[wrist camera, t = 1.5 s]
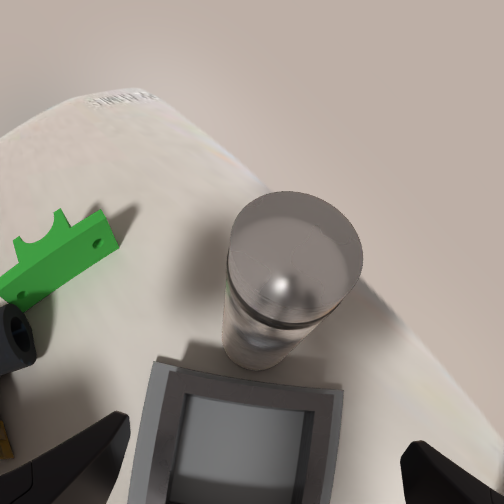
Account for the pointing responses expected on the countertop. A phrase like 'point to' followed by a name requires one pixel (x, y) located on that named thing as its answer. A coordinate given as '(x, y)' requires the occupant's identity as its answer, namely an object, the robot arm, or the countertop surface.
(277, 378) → the countertop surface
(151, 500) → the iron collar
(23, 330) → the pipe connector
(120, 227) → the countertop surface
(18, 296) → the pipe clamp
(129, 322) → the countertop surface
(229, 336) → the silver metal tumbler
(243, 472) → the grey flat square frame
